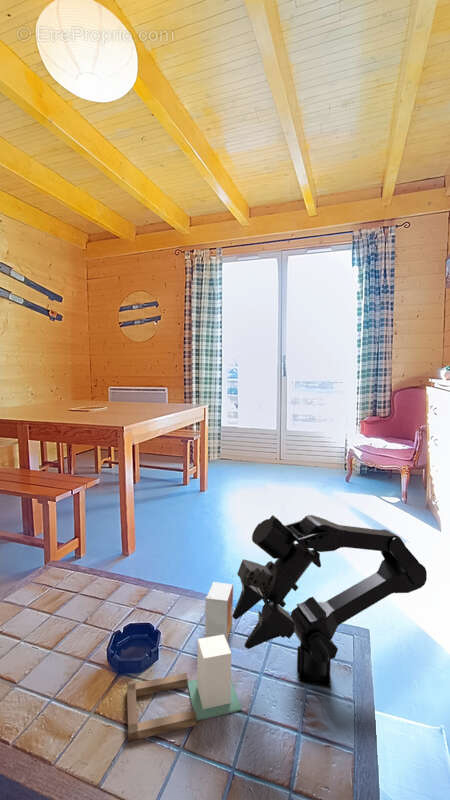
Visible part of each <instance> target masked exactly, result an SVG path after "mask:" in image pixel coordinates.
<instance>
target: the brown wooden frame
mask: <svg viewBox="0 0 450 800" xmlns="http://www.w3.org/2000/svg"><path fill="white" fill-rule="evenodd" d="M188 680H189V679H188V673H187V672H185V673H180V674H176V675H170V676H165V677H159V678H154V679H150V680H145V681H140V682H135V683H129V684H127V685H126V693H127V694H126V697H127V698H126V699H127V702H126V703H127V732H128V733H127V737H128V738H127V740H128V742H132V741H137V740H141V739H146V738H149V737H152V736H158V735H162V734H165V733H169V732H174V731H178V730H183V729H187V728H190V727H191V728H192V727H195V726H197V721H196V713H195V710H193V709H192V710H189V711H183V712H179V713H175V714H172V715H167V716H166V715H165V716H163V717H158V718H152V719H149V720H148V719H147V720H145V721H141V722H138V708H137V707H138V705H137V704H138V703H137V697H141V696H145V695H151V694H155V693H161V692H164V691H166V692H167V691H171V690H175V689H179V688H180V689H181V688H184V687H185V688H186V687H188Z"/></svg>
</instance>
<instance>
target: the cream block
mask: <svg viewBox="0 0 450 800" xmlns="http://www.w3.org/2000/svg"><path fill="white" fill-rule="evenodd" d="M232 656H233V655H232V651H231V649H230V646H229V643H228V641H226V639H225V636H224V635H218V636H212V637H207V638H205V637H202V638H198V639H197V660H196V661H197V662H196V664H197V667H196V668H197V669H196V671H197V672H196V674H197V675H196V677H197V678H196V680H197V688H198V692H199V696H200V700H201V704H202V708H203V709H207V708H211V707H216V706H220V705H224V704H229V703H231V681H232Z"/></svg>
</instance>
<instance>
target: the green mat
mask: <svg viewBox="0 0 450 800" xmlns="http://www.w3.org/2000/svg"><path fill="white" fill-rule="evenodd" d="M187 689H188V694H189V697H190V701H191V707H192V710H195V713H196V722H198V721H202V720H206V719H211V718H214V717H219V716H223V715H228V714H231V713H235V712H240V711H243V708H242V705H241V703H240V700H239V697H238V694H237V692H236V689H235V686H234V684H233V681H232V680H231V703H229V704H224V705H220V706H216V707H211V708H207V709H203V708H202V704H201V700H200V696H199V692H198V688H197V679H194V680H189V681H188V686H187Z"/></svg>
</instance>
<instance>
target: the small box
mask: <svg viewBox="0 0 450 800" xmlns="http://www.w3.org/2000/svg"><path fill="white" fill-rule="evenodd" d="M233 602H234V585H233V584H231V583H226V582H225V583H224V582H217V581H213V582H212V583H211V586H210V588H209V591H208V592H207V595H206V596H205V611H204V612H205V614H204V615H205V616H204V617H205V619H204V627H205V628H204V638H207V637H212V636H218V635H224V636H225V639H226V641H227V642H228V639H229V637H230V636H229V635H230V632H231V629H232V625H233V613H234V610H233V609H234V607H233Z"/></svg>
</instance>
